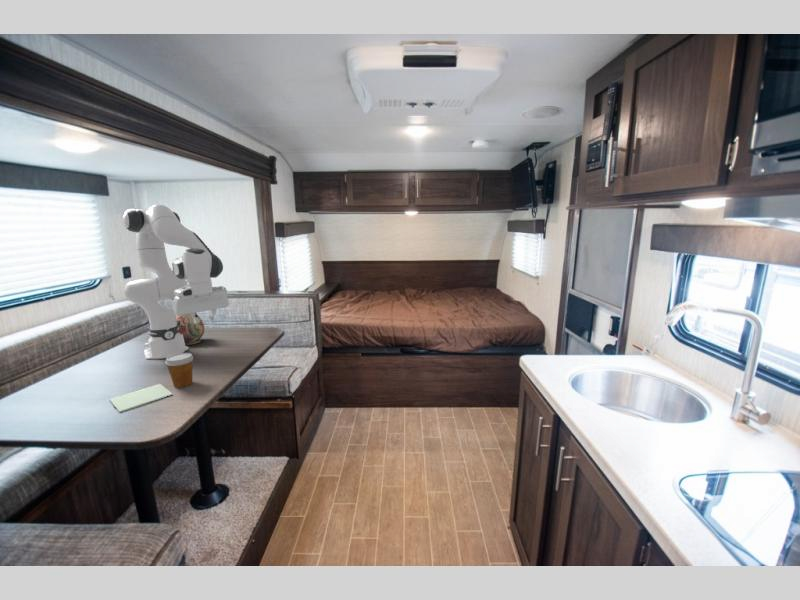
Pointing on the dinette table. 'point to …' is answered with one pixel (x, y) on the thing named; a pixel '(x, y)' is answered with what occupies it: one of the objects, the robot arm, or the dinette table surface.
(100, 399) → the dinette table surface
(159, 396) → the mat
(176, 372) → the disposable coffee cup
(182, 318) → the ceramic jug
